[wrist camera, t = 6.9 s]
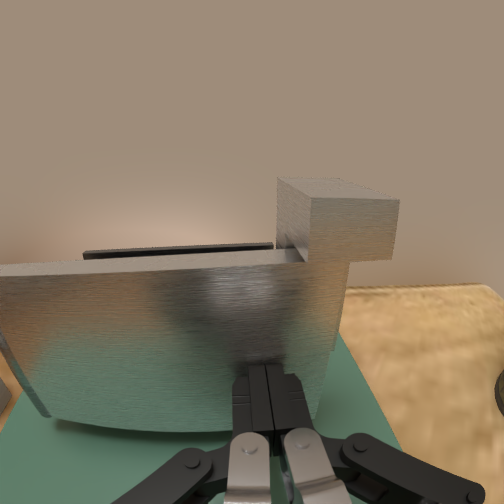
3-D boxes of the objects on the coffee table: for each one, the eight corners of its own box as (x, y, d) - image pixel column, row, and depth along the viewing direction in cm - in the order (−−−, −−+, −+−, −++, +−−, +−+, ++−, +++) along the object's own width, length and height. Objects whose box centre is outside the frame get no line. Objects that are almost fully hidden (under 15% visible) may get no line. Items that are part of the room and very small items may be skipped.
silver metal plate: (35, 415, 11) (-36, 278, 8) (43, 397, 13) (-17, 264, 9) (315, 421, 14) (347, 260, 10) (307, 399, 15) (330, 244, 12)
